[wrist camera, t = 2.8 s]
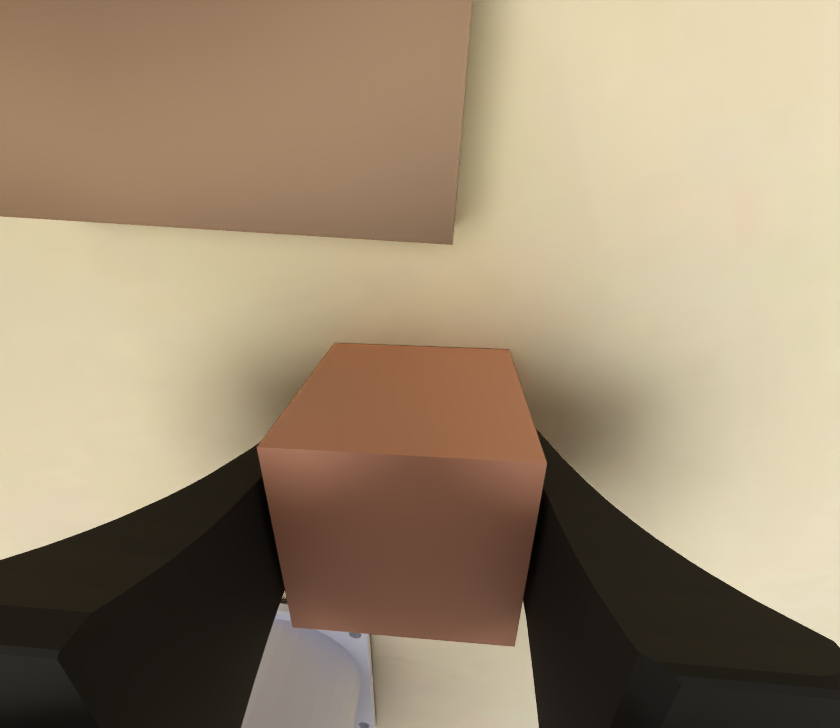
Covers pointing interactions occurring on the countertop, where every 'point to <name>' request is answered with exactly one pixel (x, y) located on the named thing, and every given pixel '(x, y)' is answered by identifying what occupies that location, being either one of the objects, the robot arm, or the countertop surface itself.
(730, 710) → the robot arm
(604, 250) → the countertop surface
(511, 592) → the salmon pink cube
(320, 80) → the walnut block
